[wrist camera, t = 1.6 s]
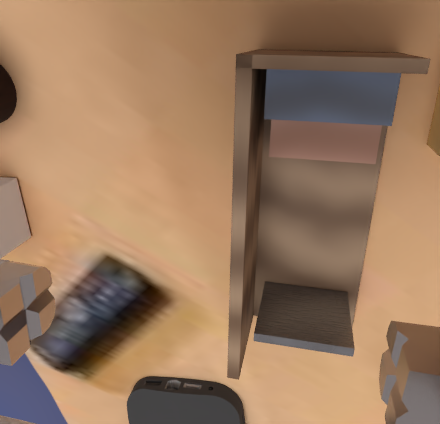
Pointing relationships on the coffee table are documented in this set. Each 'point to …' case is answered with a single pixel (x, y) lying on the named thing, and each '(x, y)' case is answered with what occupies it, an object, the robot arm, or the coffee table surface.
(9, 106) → the coffee mug
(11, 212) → the milk carton
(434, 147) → the book
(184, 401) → the media streaming box
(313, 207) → the shelf
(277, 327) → the bookend
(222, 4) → the coffee table surface
